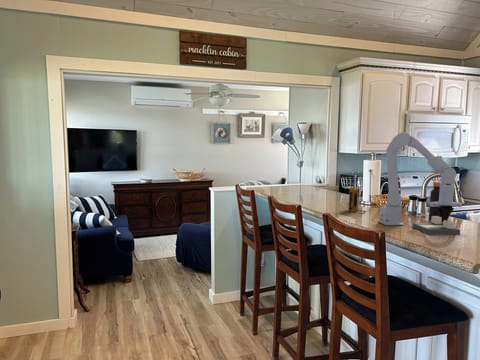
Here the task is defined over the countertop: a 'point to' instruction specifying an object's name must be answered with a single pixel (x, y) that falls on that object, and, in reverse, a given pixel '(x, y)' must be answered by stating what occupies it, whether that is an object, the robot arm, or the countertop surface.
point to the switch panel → (435, 228)
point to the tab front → (448, 224)
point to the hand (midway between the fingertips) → (444, 222)
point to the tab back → (436, 219)
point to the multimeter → (354, 198)
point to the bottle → (434, 200)
